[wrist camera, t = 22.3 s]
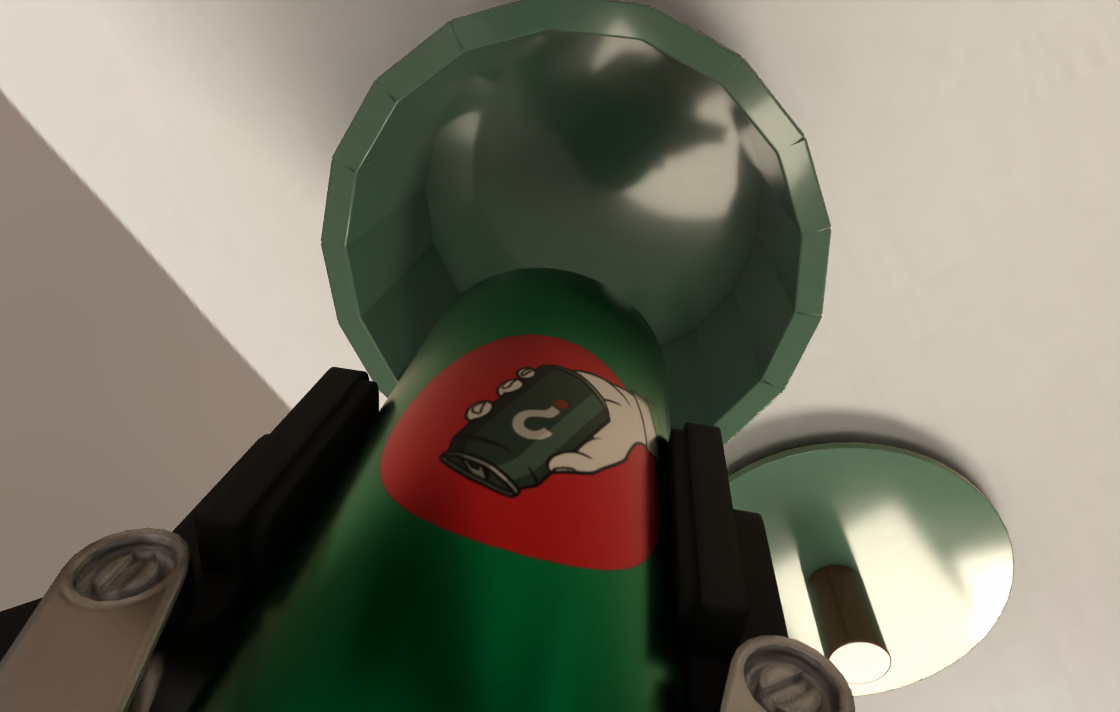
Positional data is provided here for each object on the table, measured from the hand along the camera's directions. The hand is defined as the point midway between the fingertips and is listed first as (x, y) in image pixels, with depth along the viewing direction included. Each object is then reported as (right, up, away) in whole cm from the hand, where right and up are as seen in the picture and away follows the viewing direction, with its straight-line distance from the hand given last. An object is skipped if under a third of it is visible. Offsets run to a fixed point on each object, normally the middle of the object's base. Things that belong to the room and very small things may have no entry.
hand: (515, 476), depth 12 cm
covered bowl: (+2, +8, +16) cm, 18 cm away
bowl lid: (+14, -9, +22) cm, 28 cm away
